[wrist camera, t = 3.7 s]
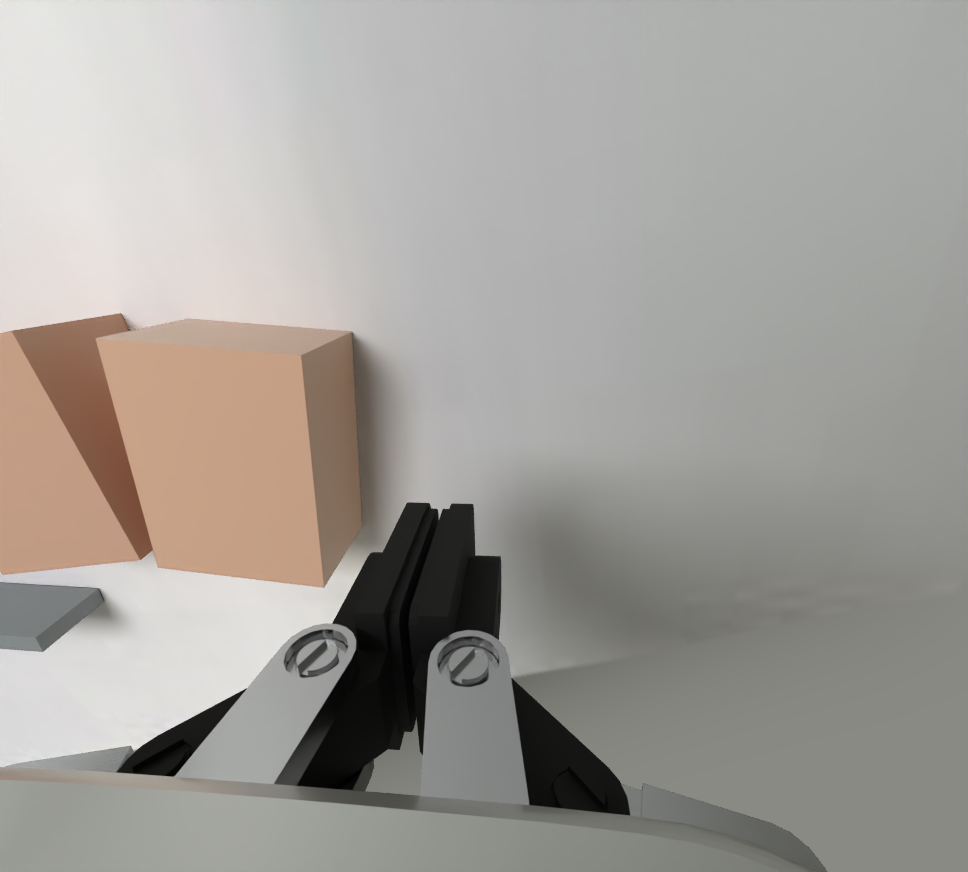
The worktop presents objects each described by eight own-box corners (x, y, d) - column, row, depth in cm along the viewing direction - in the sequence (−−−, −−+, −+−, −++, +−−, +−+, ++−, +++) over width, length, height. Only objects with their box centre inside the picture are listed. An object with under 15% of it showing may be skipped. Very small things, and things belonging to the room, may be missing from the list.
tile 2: (354, 330, 16) (300, 355, 12) (364, 522, 19) (324, 587, 16) (192, 317, 17) (95, 338, 13) (228, 507, 20) (157, 567, 16)
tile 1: (126, 312, 17) (11, 330, 13) (214, 501, 20) (140, 560, 16) (-4, 340, 18) (-145, 365, 14) (97, 516, 21) (2, 574, 17)
